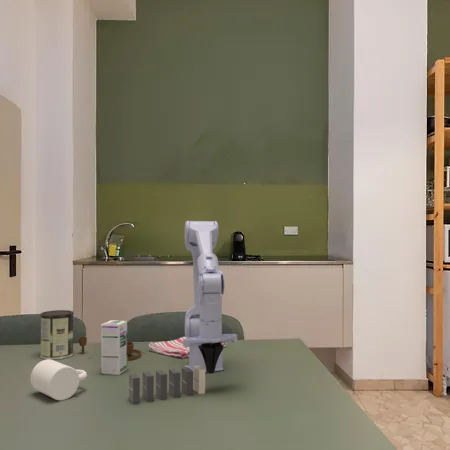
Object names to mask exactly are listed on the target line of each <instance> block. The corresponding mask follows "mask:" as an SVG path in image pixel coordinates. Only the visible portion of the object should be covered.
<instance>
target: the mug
mask: <svg viewBox="0 0 450 450" xmlns="http://www.w3.org/2000/svg"><path fill="white" fill-rule="evenodd" d="M87 373H88V372H86V371H85V370H83V369H75V368H74V367H72V366H69V365H66V364H64V363H61V362H60V361H59V362H58V361H56V360H51V359H43V360H41V361H40V362H38V363H37V364H36V365H35V366H34V367H33V368H32V370H31V373H30V383H31V384H30V385H31V386H32V388H33V389H35V390H36V391H38V392H40V393H42V394H44V395H46V396H48V397H50V398H52V399H54V400H56V401H65V399H66V400H68V399H69V398H71V397H72V396H73V395H74V394H75V393H76V391H77V389H78V388H79V385H80V382H81V381H83V380H85V379H86V378H87V377H88V374H87Z"/></svg>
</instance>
